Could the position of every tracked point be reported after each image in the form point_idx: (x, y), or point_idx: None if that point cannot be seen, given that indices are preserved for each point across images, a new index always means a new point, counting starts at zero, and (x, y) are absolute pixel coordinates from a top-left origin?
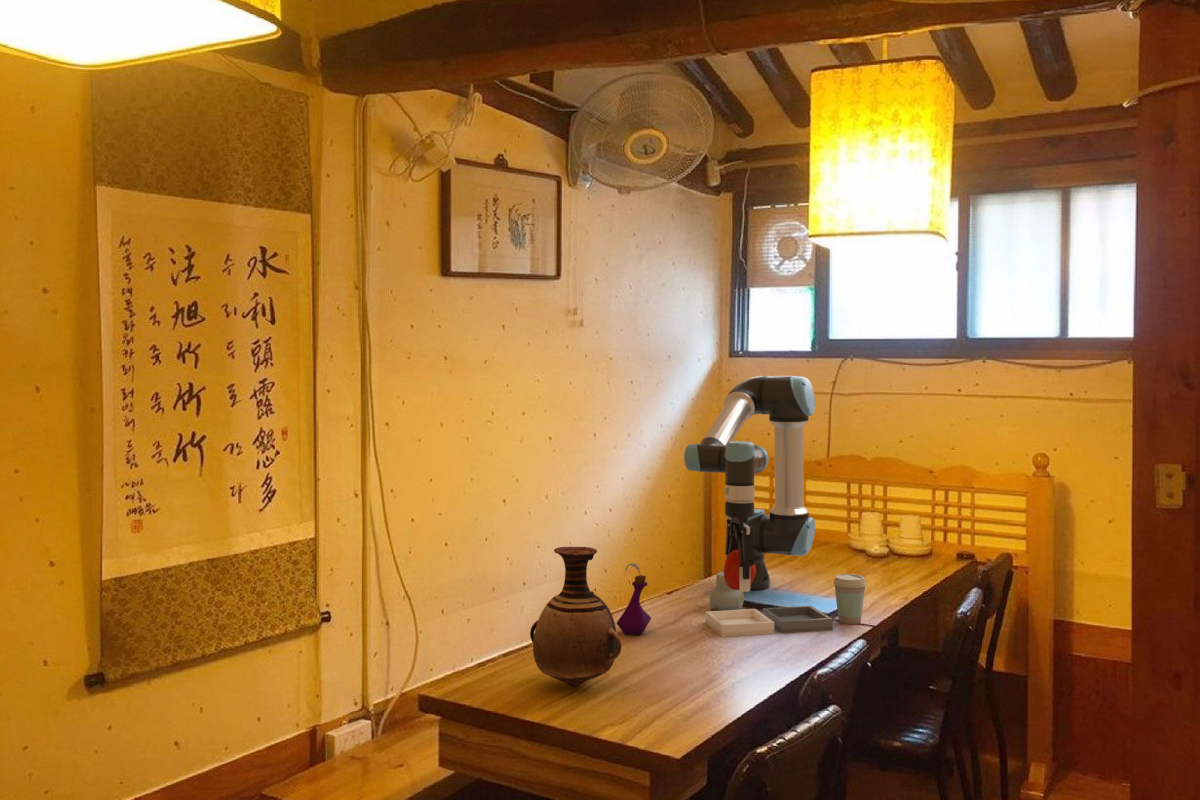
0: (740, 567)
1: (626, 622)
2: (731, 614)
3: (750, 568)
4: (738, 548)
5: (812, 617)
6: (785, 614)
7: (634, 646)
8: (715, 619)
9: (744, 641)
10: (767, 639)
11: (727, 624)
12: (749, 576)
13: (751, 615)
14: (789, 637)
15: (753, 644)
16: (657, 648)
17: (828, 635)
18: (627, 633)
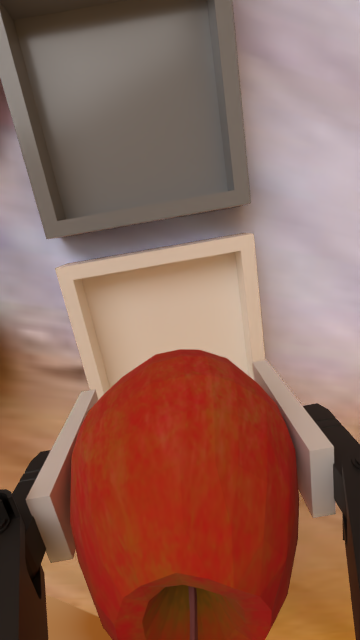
0: (331, 508)
1: None
2: (96, 353)
3: (283, 424)
4: (22, 623)
5: (65, 18)
6: (43, 140)
7: (307, 564)
8: None
9: (311, 337)
10: (303, 267)
11: None
12: (332, 414)
13: (79, 282)
14: (292, 190)
15: (344, 317)
16: (331, 527)
17: (289, 22)
18: None
